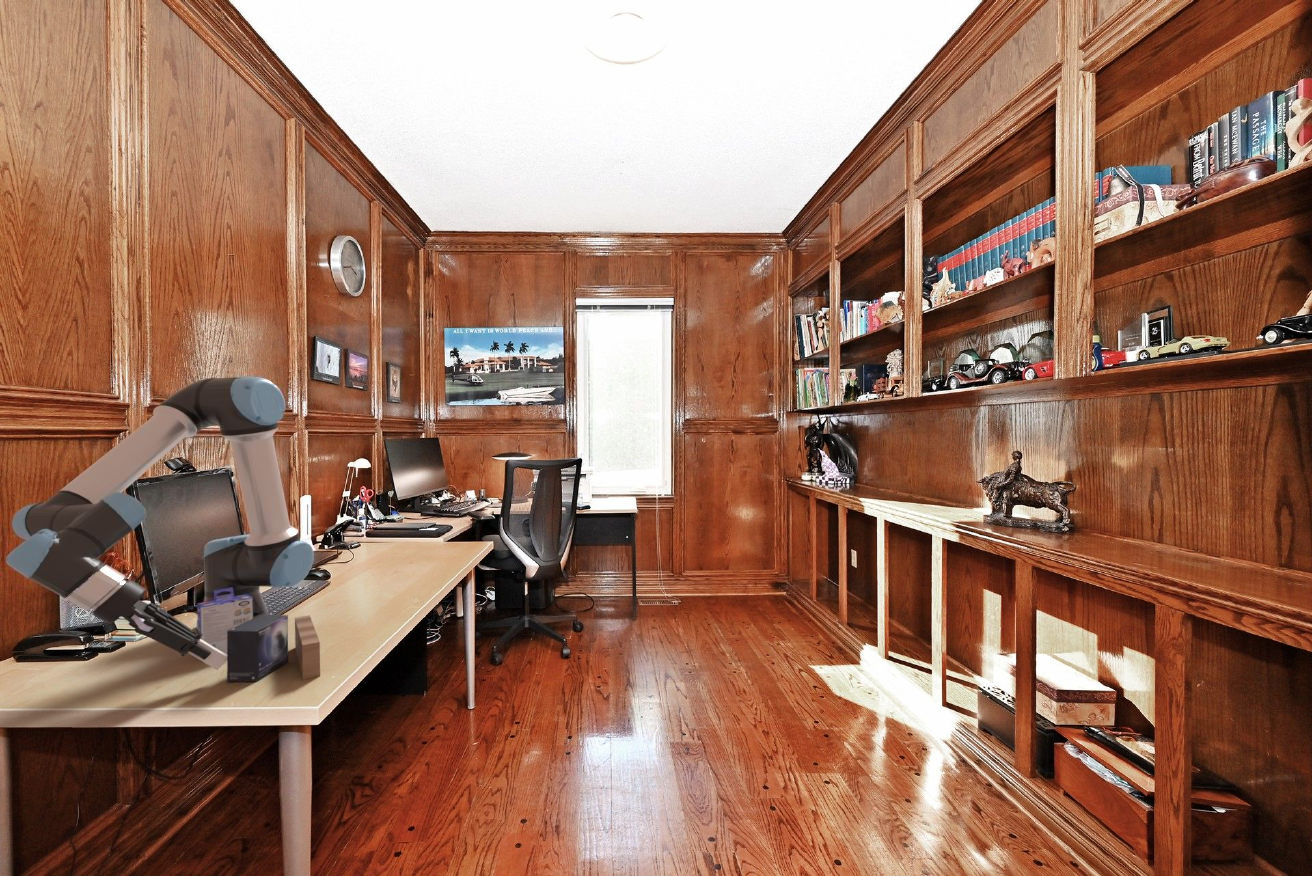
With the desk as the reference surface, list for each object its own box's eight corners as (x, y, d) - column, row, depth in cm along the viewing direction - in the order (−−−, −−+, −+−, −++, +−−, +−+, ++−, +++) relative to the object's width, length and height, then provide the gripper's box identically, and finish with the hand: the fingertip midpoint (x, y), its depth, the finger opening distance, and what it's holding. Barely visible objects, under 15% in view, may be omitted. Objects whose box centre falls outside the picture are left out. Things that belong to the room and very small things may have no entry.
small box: (258, 682, 115) (257, 630, 115) (225, 683, 115) (224, 630, 115) (290, 661, 126) (289, 613, 126) (260, 662, 126) (259, 614, 126)
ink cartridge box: (249, 644, 137) (248, 583, 137) (255, 649, 133) (254, 587, 133) (196, 656, 130) (195, 592, 130) (201, 662, 126) (200, 596, 126)
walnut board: (295, 647, 134) (294, 617, 134) (310, 644, 136) (309, 615, 136) (303, 679, 116) (302, 645, 116) (320, 676, 118) (319, 642, 118)
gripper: (97, 603, 110) (208, 668, 120) (81, 621, 100) (205, 691, 110) (133, 572, 113) (239, 638, 123) (122, 585, 103) (238, 657, 113)
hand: (223, 663), depth 116 cm, fingers closed
